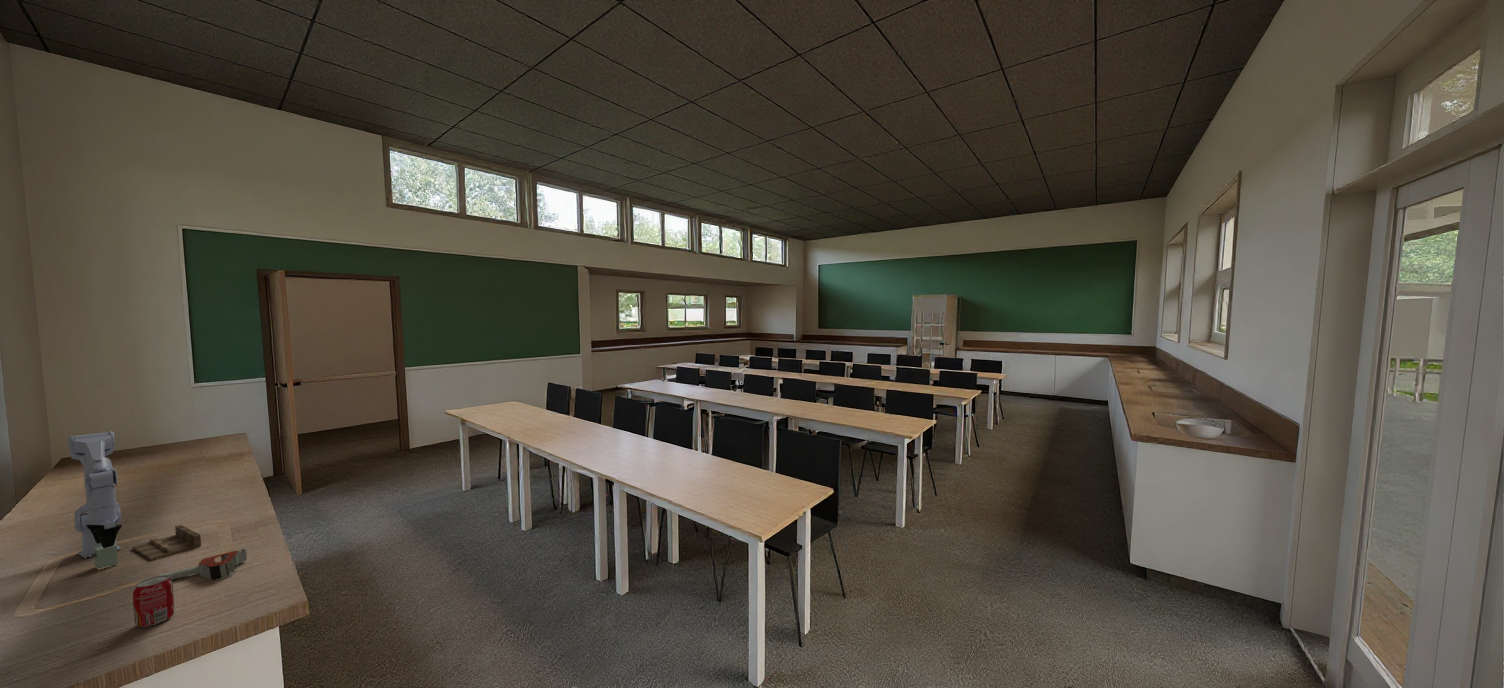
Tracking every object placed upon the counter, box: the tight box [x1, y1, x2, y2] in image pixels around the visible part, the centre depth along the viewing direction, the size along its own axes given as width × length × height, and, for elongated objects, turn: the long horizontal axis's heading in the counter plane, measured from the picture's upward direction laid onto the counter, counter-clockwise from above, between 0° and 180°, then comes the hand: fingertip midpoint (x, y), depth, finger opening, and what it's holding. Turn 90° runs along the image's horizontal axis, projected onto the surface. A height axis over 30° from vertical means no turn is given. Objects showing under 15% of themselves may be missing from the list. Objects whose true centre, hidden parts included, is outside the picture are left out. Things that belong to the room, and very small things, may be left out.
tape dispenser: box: [157, 548, 248, 581], centre depth 159 cm, size 18×5×20 cm
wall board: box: [132, 524, 202, 561], centre depth 177 cm, size 20×12×4 cm, turn 64°
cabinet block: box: [90, 544, 119, 568], centre depth 163 cm, size 4×5×7 cm
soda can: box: [132, 575, 175, 628], centre depth 133 cm, size 7×7×12 cm
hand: (105, 544), depth 163 cm, fingers open, 7 cm apart
